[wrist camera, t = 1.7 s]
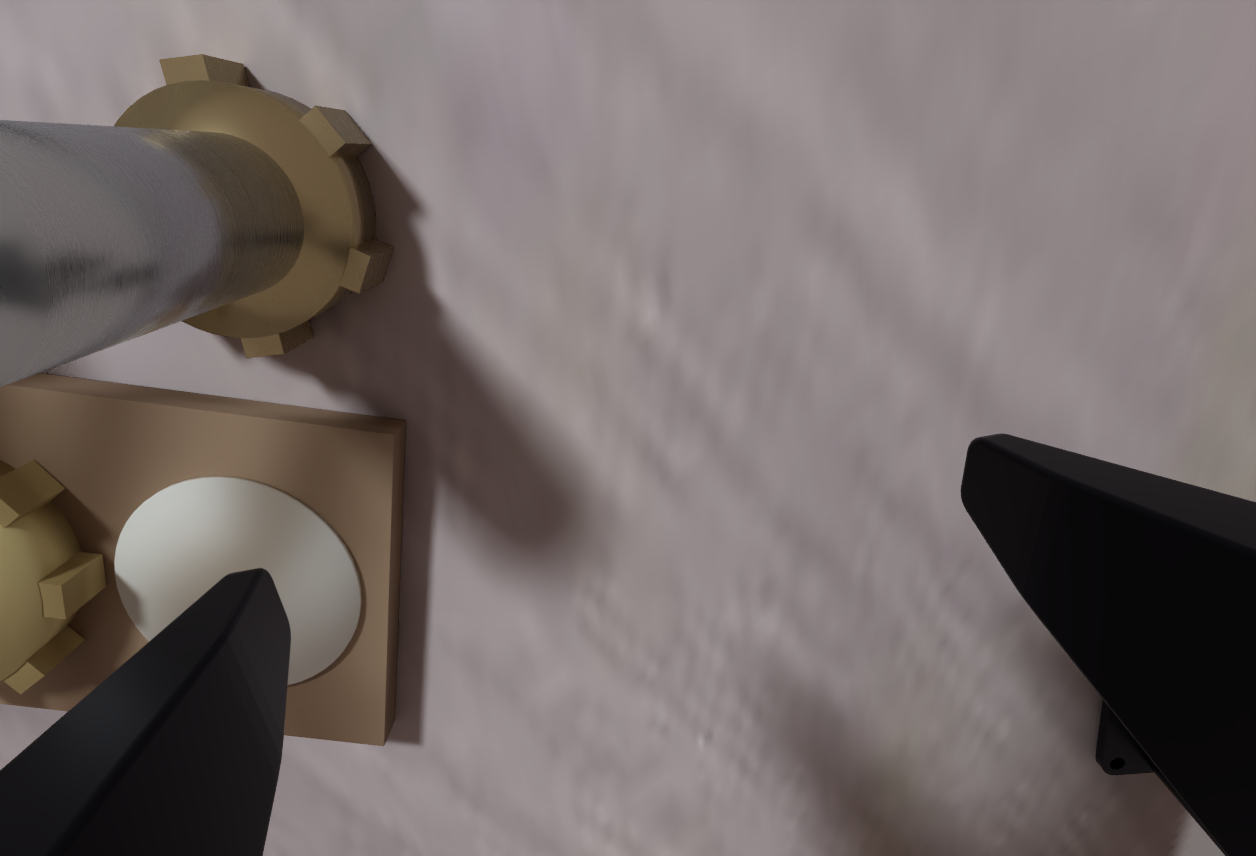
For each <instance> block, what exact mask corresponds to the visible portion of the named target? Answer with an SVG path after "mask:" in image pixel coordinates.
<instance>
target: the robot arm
mask: <svg viewBox="0 0 1256 856" xmlns="http://www.w3.org/2000/svg"><path fill="white" fill-rule="evenodd" d="M961 498H962V502H963V505H964V507H965V509H966V511H967V512H968V514H969V515H970V517H971V518H972V520H973V522H974V523H975V525H976V526H977V528H978V529H979V531H980V532H981V534H982V536H983V537H984V539H985V540H986V542H987V543H988V545H989V547H990V548H991V550H992V551H993V553H994V554H995V556H996V557H997V559H998V561H999V562H1000V564H1001V565H1002V567H1003V568H1004V570H1005V572H1006V573H1007V575H1008V576H1009V578H1010V579H1011V581H1012V582H1013V584H1014V585H1015V587H1016V588H1017V590H1018V591H1019V593H1020V594H1021V596H1022V597H1023V598H1024V600H1025V601H1026V602H1027V604H1028V605H1029V606H1030V608H1031V609H1032V610H1033V612H1034V613H1035V614H1036V615H1037V617H1038V618H1039V619H1040V620H1041V622H1042V623H1043V624H1044V625H1045V627H1046V628H1047V629H1048V631H1049V632H1050V633H1051V634H1052V636H1053V637H1054V638H1055V639H1056V641H1057V642H1058V643H1059V644H1060V646H1061V647H1062V648H1063V649H1064V651H1065V652H1066V653H1067V654H1068V656H1069V657H1070V658H1071V659H1072V661H1073V662H1074V663H1075V664H1076V666H1077V667H1078V668H1079V670H1080V671H1081V672H1082V673H1083V675H1084V676H1085V677H1086V678H1087V680H1088V681H1089V682H1090V683H1091V685H1092V686H1093V687H1094V688H1095V690H1096V691H1097V692H1098V693H1099V695H1100V696H1101V697H1102V698H1103V703H1102V711H1101V718H1100V726H1099V733H1098V741H1097V749H1096V761H1097V762H1098V764H1099V765H1100V766H1101V767H1102V769H1103V770H1104V771H1105V773H1107V774H1110V775H1124V774H1137V773H1150V772H1155V773H1156V775H1157V776H1158V777H1159V778H1160V779H1161V780H1162V782H1163V783H1164V784H1165V785H1166V786H1167V788H1168V789H1169V790H1170V791H1171V792H1172V793H1173V795H1174V796H1175V797H1176V798H1177V799H1178V800H1179V802H1180V803H1181V804H1182V805H1183V806H1184V808H1185V809H1186V810H1187V811H1188V812H1189V813H1190V815H1191V816H1192V817H1193V818H1194V819H1195V821H1196V822H1197V823H1198V824H1199V825H1200V826H1201V828H1202V829H1203V830H1204V831H1205V832H1206V833H1207V835H1208V836H1209V837H1210V838H1211V839H1212V841H1213V842H1214V843H1215V844H1216V845H1217V846H1218V847H1219V849H1220V850H1221V851H1222V852H1223V853H1224V855H1225V856H1256V502H1253V501H1249V500H1245V499H1242V498H1238V497H1234V496H1231V495H1227V494H1223V493H1220V492H1216V491H1213V490H1209V489H1205V488H1202V487H1198V486H1194V485H1191V484H1187V483H1183V482H1180V481H1176V480H1172V479H1169V478H1165V477H1161V476H1158V475H1154V474H1150V473H1147V472H1143V471H1139V470H1136V469H1132V468H1128V467H1125V466H1121V465H1118V464H1114V463H1110V462H1107V461H1103V460H1099V459H1096V458H1092V457H1088V456H1085V455H1081V454H1077V453H1074V452H1070V451H1066V450H1063V449H1059V448H1055V447H1052V446H1048V445H1044V444H1041V443H1037V442H1034V441H1030V440H1026V439H1023V438H1019V437H1015V436H1012V435H1008V434H995V435H989V436H984V437H979V438H976V439H974V440H973V441H972V442H971V443H970V445H969V447H968V450H967V456H966V462H965V468H964V473H963V479H962V485H961ZM290 647H291V630H290V624H289V620H288V617H287V615H286V612H285V610H284V607H283V604H282V602H281V599H280V597H279V594H278V591H277V589H276V586H275V584H274V581H273V579H272V576H271V575H270V573H269V572H268V571H267V570H265V569H263V568H256V569H251V570H245V571H239V572H234V573H230V574H227V575H226V576H224V577H223V578H222V579H221V580H220V581H218V582H217V583H216V584H215V585H214V586H213V587H211V588H210V589H209V590H208V591H207V592H206V593H205V594H203V595H202V596H201V597H200V598H199V599H198V600H196V601H195V602H194V603H193V604H192V605H191V606H190V607H188V608H187V609H186V610H185V611H184V612H183V613H181V614H180V615H179V616H178V617H177V618H176V619H175V620H173V621H172V622H171V623H170V624H169V625H168V626H166V627H165V628H164V629H163V630H162V631H161V632H160V633H158V634H157V635H156V636H155V637H154V638H153V639H152V640H150V641H149V642H148V643H147V644H146V645H145V646H143V647H142V648H141V649H140V650H139V651H138V652H137V653H135V654H134V655H133V656H132V657H131V658H130V659H128V660H127V661H126V662H125V663H124V664H123V665H122V666H120V667H119V668H118V669H117V670H116V671H115V672H113V673H112V674H111V675H110V676H109V677H108V678H107V679H105V680H104V681H103V682H102V683H101V684H100V685H98V686H97V687H96V688H95V689H94V690H93V691H92V692H90V693H89V694H88V695H87V696H86V697H85V698H83V699H82V700H81V701H80V702H79V703H78V704H77V705H75V706H74V707H73V708H72V709H71V710H70V711H68V712H67V713H66V714H65V715H64V716H63V717H61V718H60V719H59V720H58V721H57V722H56V723H55V724H53V725H52V726H51V727H50V728H49V729H48V730H46V731H45V732H44V733H43V734H42V735H41V736H40V737H38V738H37V739H36V740H35V741H34V742H33V743H31V744H30V745H29V746H28V747H27V748H26V749H25V750H23V751H22V752H21V753H20V754H19V755H18V756H16V757H15V758H14V759H13V760H12V761H11V762H10V763H8V764H7V765H6V766H5V767H4V768H3V769H1V770H0V856H263V851H264V846H265V841H266V836H267V831H268V826H269V821H270V816H271V811H272V806H273V801H274V796H275V791H276V786H277V781H278V776H279V770H280V764H281V758H282V748H283V739H284V726H285V713H286V699H287V686H288V673H289V660H290ZM1113 759H1114V760H1113Z"/></svg>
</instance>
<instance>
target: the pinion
mask: <svg viewBox="0 0 1256 856" xmlns="http://www.w3.org/2000/svg"><path fill="white" fill-rule="evenodd" d="M160 64H161V67H162V70H163V74H164V77H165V81H166V84H167V85H166V86H164V87H161V88H158V89H156V90H154V91H152V92H150V93H148V94H147V95H145V96H143V97H141V98H140V99H139V100H137V101H136V102H135V103H134V104H133V105H131V106H130V107H129V108H128V109H127V110H126V111H125V112H124V113H123V115H122V116H121V117H120V118H119V119H118V121H117V122H116V124H115V125H114V126H97V125H79V124H62V123H44V122H27V121H9V120H0V387H2V386H5V385H8V384H11V383H13V382H16V381H19V380H21V379H24V378H27V377H30V376H32V375H35V374H38V373H41V372H43V371H46V370H49V369H51V368H54V367H57V366H60V365H62V364H65V363H68V362H71V361H73V360H76V359H79V358H81V357H84V356H87V355H90V354H92V353H95V352H98V351H101V350H103V349H106V348H109V347H111V346H114V345H117V344H120V343H122V342H125V341H128V340H131V339H133V338H136V337H139V336H141V335H144V334H147V333H150V332H152V331H155V330H158V329H161V328H163V327H166V326H169V325H171V324H174V323H177V322H180V321H182V322H184V323H187V324H189V325H191V326H193V327H195V328H197V329H200V330H203V331H206V332H209V333H212V334H217V335H221V336H226V337H235V338H241V342H242V345H243V348H244V352H245V355H246V358H252V357H262V356H271V355H280V354H285V353H287V352H289V351H290V350H292V349H294V348H296V347H297V346H299V345H301V344H303V343H304V342H306V341H308V340H310V339H311V338H313V333H312V330H311V326H310V322H309V320H310V319H312V318H314V317H316V316H317V315H319V314H321V313H323V312H325V311H327V310H329V309H331V308H332V307H334V306H335V305H337V304H338V303H340V302H341V301H342V300H343V299H344V298H345V297H346V296H348V295H349V294H350V293H351V292H352V291H354V292H356V293H361V292H363V291H365V290H367V289H369V288H371V287H373V286H375V285H377V284H379V283H381V282H383V279H384V276H385V273H386V270H387V266H388V263H389V260H390V257H391V254H392V251H393V248H394V247H391V246H389V245H387V244H384V243H382V242H380V241H377V240H375V233H376V213H375V206H374V200H373V195H372V192H371V188H370V185H369V182H368V179H367V177H366V174H365V172H364V169H363V167H362V165H361V164H360V162H359V160H358V158H357V157H358V156H359V155H360V154H361V153H362V152H363V151H365V150H366V149H367V148H368V147H369V146H370V145H372V144H371V142H370V141H369V140H368V139H367V137H366V136H365V135H364V134H363V132H362V131H361V130H360V129H359V127H358V126H357V125H356V124H355V122H354V121H353V120H352V119H351V117H350V116H349V115H348V113H347V112H346V111H345V110H340V109H333V108H327V107H321V106H314V107H313V108H312V109H310V108H309V107H307V106H306V105H304V104H302V103H300V102H298V101H296V100H294V99H292V98H290V97H287V96H284V95H282V94H279V93H276V92H272V91H267V90H263V89H258V88H253V87H249V85H248V81H247V77H246V73H245V69H244V65H243V64H241V63H237V62H233V61H228V60H224V59H220V58H216V57H211V56H207V55H203V54H201V55H193V56H185V57H177V58H169V59H161V60H160Z"/></svg>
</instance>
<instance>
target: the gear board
mask: <svg viewBox="0 0 1256 856" xmlns="http://www.w3.org/2000/svg"><path fill="white" fill-rule="evenodd" d="M405 437H406V420H399V419H392V418H384V417H376V416H368V415H361V414H353V413H345V412H337V411H330V410H322V409H314V408H307V407H299V406H291V405H283V404H276V403H268V402H260V401H252V400H245V399H237V398H229V397H221V396H214V395H206V394H198V393H190V392H183V391H175V390H167V389H159V388H152V387H144V386H136V385H128V384H121V383H113V382H105V381H97V380H90V379H82V378H74V377H67V376H59V375H51V374H43V373H38V374H35V375H32V376H30V377H27V378H24V379H21V380H19V381H16V382H13V383H11V384H8V385H5V386H2V387H0V704H8V705H17V706H26V707H35V708H44V709H53V710H62V711H70V710H71V709H72V708H73V707H74V706H75V705H77V704H78V703H79V702H80V701H81V700H82V699H83V698H85V697H86V696H87V695H88V694H89V693H90V692H92V691H93V690H94V689H95V688H96V687H97V686H98V685H100V684H101V683H102V682H103V681H104V680H105V679H107V678H108V677H109V676H110V675H111V674H112V673H113V672H115V671H116V670H117V669H118V668H119V667H120V666H122V665H123V664H124V663H125V662H126V661H127V660H128V659H130V658H131V657H132V656H133V655H134V654H135V653H137V652H138V651H139V650H140V649H141V648H142V647H143V646H145V645H146V644H147V643H148V642H149V641H150V640H152V639H153V638H154V637H155V636H156V635H157V634H158V633H160V632H161V631H162V630H163V629H164V628H165V627H166V626H168V625H169V624H170V623H171V622H172V621H173V620H175V619H176V618H177V617H178V616H179V615H180V614H181V613H183V612H184V611H185V610H186V609H187V608H188V607H190V606H191V605H192V604H193V603H194V602H195V601H196V600H198V599H199V598H200V597H201V596H202V595H203V594H205V593H206V592H207V591H208V590H209V589H210V588H211V587H213V586H214V585H215V584H216V583H217V582H218V581H220V580H221V579H222V578H223V577H224V576H226V575H227V574H230V573H234V572H239V571H245V570H251V569H256V568H263V569H265V570H267V571H268V572H269V573H270V575H271V576H272V579H273V581H274V584H275V586H276V589H277V591H278V594H279V597H280V599H281V602H282V604H283V607H284V610H285V612H286V615H287V617H288V620H289V624H290V630H291V647H290V660H289V673H288V686H287V699H286V713H285V726H284V735H288V736H297V737H306V738H315V739H324V740H333V741H342V742H351V743H360V744H369V745H378V746H384V745H385V742H386V740H387V738H388V735H389V733H390V731H391V728H392V726H393V723H394V721H395V702H396V676H397V649H398V623H399V596H400V570H401V543H402V517H403V490H404V464H405Z"/></svg>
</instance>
